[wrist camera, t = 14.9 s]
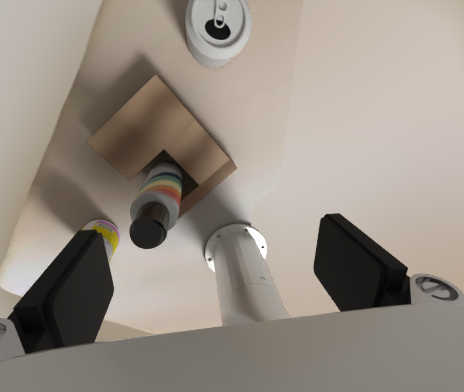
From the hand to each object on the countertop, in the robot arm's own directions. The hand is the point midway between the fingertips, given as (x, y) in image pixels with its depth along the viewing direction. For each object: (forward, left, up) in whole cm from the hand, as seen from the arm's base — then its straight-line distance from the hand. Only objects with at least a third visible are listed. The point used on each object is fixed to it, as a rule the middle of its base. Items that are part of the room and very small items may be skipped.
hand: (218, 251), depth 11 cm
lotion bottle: (-2, +9, -34) cm, 36 cm away
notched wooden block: (+2, +5, -34) cm, 35 cm away
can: (+9, -11, -34) cm, 37 cm away
